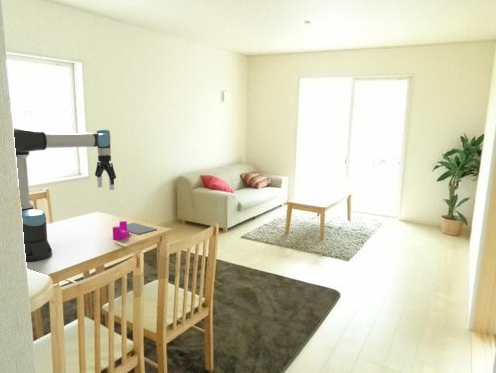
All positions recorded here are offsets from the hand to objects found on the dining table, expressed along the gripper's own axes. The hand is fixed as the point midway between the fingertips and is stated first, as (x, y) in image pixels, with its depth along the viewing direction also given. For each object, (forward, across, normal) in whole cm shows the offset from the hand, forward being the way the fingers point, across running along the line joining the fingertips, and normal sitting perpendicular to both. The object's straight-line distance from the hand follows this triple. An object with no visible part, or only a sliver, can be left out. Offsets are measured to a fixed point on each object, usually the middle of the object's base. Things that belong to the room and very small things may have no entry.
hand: (105, 188), depth 229 cm
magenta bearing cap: (+26, -21, +3) cm, 34 cm away
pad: (+26, -14, -12) cm, 32 cm away
